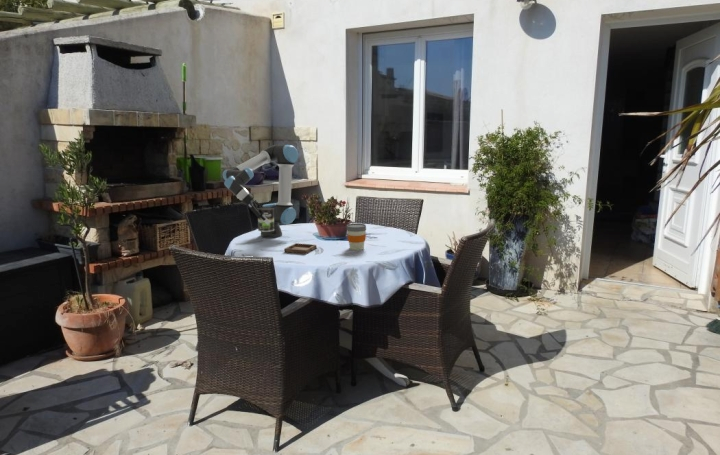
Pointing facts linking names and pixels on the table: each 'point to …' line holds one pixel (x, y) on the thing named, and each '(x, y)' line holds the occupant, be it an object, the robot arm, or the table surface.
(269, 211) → the coffee can
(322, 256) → the table surface
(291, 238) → the table surface
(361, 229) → the reusable coffee cup
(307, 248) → the wooden tray
